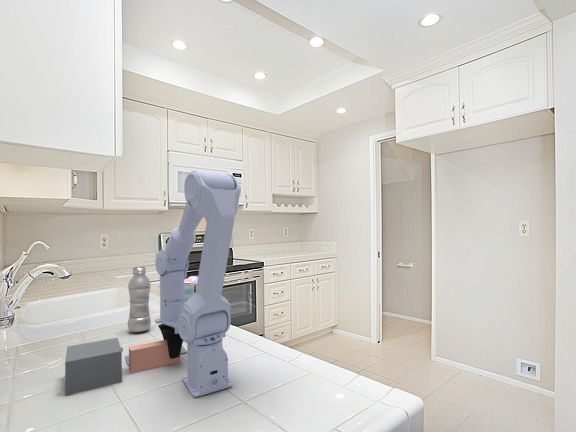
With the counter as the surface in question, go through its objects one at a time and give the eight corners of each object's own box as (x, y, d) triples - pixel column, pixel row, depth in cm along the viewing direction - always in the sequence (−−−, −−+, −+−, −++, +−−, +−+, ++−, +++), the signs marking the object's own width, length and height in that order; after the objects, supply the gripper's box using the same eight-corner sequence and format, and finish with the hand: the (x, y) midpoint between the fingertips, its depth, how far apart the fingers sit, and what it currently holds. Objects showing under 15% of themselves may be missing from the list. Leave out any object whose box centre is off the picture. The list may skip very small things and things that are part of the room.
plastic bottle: (135, 328, 107) (135, 266, 107) (155, 328, 106) (154, 266, 106) (123, 334, 101) (122, 269, 101) (143, 335, 100) (143, 269, 100)
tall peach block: (180, 361, 80) (180, 340, 80) (130, 373, 74) (130, 350, 74) (177, 357, 83) (177, 337, 83) (129, 368, 77) (128, 346, 77)
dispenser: (124, 381, 70) (123, 350, 71) (65, 395, 65) (65, 362, 65) (119, 364, 79) (119, 337, 79) (67, 375, 73) (67, 346, 74)
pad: (187, 352, 85) (187, 351, 85) (127, 366, 78) (127, 364, 78) (181, 345, 91) (181, 344, 91) (125, 357, 83) (125, 356, 83)
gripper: (150, 296, 85) (150, 349, 85) (161, 307, 73) (161, 370, 72) (178, 292, 89) (178, 343, 88) (193, 303, 76) (193, 362, 76)
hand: (172, 355), depth 81 cm, fingers closed on tall peach block, 3 cm apart
